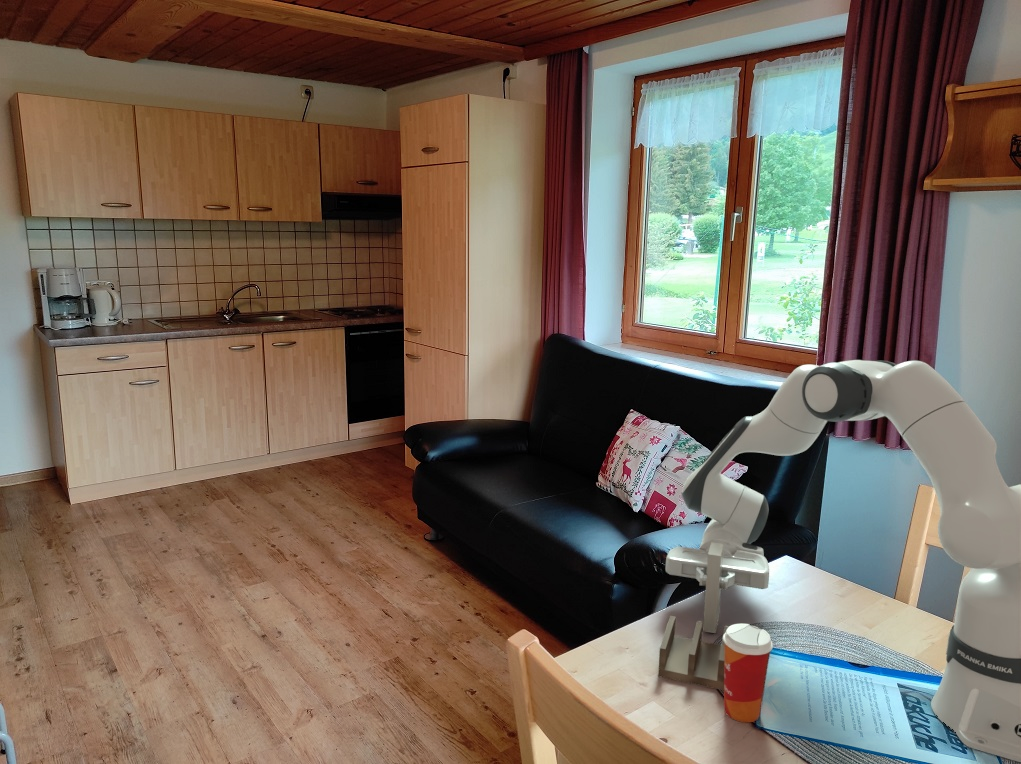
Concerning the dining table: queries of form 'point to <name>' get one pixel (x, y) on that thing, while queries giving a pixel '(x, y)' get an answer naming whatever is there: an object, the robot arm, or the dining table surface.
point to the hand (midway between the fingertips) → (713, 584)
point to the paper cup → (745, 671)
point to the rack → (691, 658)
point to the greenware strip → (713, 587)
